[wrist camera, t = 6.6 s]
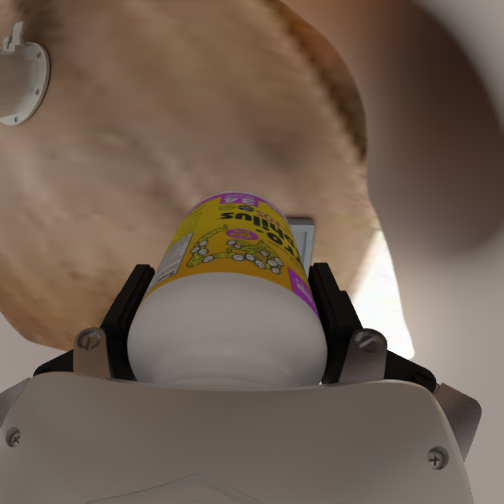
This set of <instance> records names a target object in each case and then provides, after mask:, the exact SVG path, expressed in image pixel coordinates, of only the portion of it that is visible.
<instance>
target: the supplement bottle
mask: <svg viewBox="0 0 504 504" xmlns="http://www.w3.org/2000/svg"><path fill="white" fill-rule="evenodd" d="M127 350H128V358H129V362H130V366H131V368H132V371H133V373H134V375H135V377H136V379H137V381H138V382H144V383H153V384H163V385H175V386H189V387H208V388H276V387H295V386H309V385H319V383H320V381H321V379H322V377H323V375H324V372H325V368H326V362H327V344H326V339H325V335H324V331H323V328H322V324H321V321H320V318H319V315H318V311H317V308H316V305H315V302H314V299H313V295H312V292H311V289H310V286H309V282H308V280H307V276H306V273H305V270H304V267H303V264H302V261H301V257H300V254H299V251H298V248H297V245H296V242H295V239H294V236H293V234H292V231H291V228H290V226H289V223H288V221H287V219H286V218H285V216H284V215H283V213H282V212H281V211H280V210H279V209H278V208H277V207H276V206H275V205H274V204H273V203H272V202H270V201H269V200H267V199H265V198H264V197H262V196H260V195H257V194H254V193H251V192H246V191H238V190H231V191H223V192H219V193H216V194H213V195H210V196H208V197H206V198H204V199H203V200H201V201H200V202H199V203H197V204H196V205H195V206H194V207H193V208H192V209H191V210H190V211H189V213H188V214H187V215H186V217H185V218H184V220H183V221H182V223H181V225H180V226H179V228H178V230H177V232H176V234H175V236H174V237H173V239H172V241H171V243H170V245H169V247H168V249H167V251H166V253H165V255H164V256H163V259H162V261H161V263H160V264H159V267H158V269H157V270H156V272H155V275H154V277H153V279H152V281H151V283H150V285H149V287H148V289H147V291H146V293H145V295H144V297H143V299H142V301H141V303H140V305H139V308H138V310H137V312H136V314H135V317H134V319H133V322H132V324H131V327H130V330H129V335H128V341H127Z"/></svg>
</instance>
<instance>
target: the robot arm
mask: <svg viewBox="0 0 504 504" xmlns="http://www.w3.org/2000/svg"><path fill="white" fill-rule="evenodd" d="M25 24H26V22H24V21H22V22H18V23H16V24H15V25H14V27H13V33H12V36H13V37H12V36H8V37H5V38H4V40H3V51H0V121H1V122H2V123H3V124H5V125H8V126H13V125H18V124H21V123H23V122H25V121H26V120H28V119H29V118H30V117H31V116H32V115H33V113H34V112H35V111H36V110H37V108H38V106H39V105H40V103H41V101H42V99H43V97H44V94H45V91H46V88H47V84H48V80H49V73H50V62H49V57H48V54H47V52H46V50H45V48H44V47H43V46H42V45H40V44H38V43H33V42H27V43H25V40H23V34H24V31H25ZM11 39H12V42H11ZM154 275H155V270H154V268H151V267H150V265H149V264H138V265H136V267H135V268H134V270H133V272H132V273H131V275H130V276H129V278H128V280H127V281H126V283H125V285H124V287H123V288H122V290H121V292H120V293H119V294H118V295H117V297H116V299H115V301H114V302H113V304H112V306H111V308H110V310H109V311H108V313H107V315H106V317H105V319H104V320H103V322H102V324H101V326H100V328H97V327H91V328H87V329H84V330H83V331H81V332H80V333H79V334H78V335H77V336H76V337H75V339H74V349H72V350H70V351H68V352H66V353H65V354H63V355H60V356H59V357H56V358H54V359H52V360H50V361H49V362H46V363H44V364H42V365H41V366H39V367H38V368H37V369H36V370H35V372H34V375H33V377H32V378H27V379H25V380H23V381H22V382H20V383H18V384H16V385H14V386H13V387H11V388H9V389H7V390H5V391H3V392H2V393H0V428H1V430H0V504H474V503H473V497H472V492H471V488H470V483H469V479H468V475H467V472H466V469H465V465H464V461H465V459H466V457H467V454H468V452H469V449H470V447H471V444H472V441H473V439H474V436H475V433H476V430H477V427H478V424H479V421H480V418H481V413H482V409H481V406H480V404H479V403H478V402H477V401H476V400H475V399H473V398H471V397H469V396H467V395H465V394H463V393H461V392H460V391H458V390H456V389H454V388H452V387H450V386H448V385H446V384H444V383H441V384H440V385H439V384H437V383H436V378H435V377H434V375H433V374H432V373H431V371H429V370H428V369H426V368H424V367H422V366H419V365H417V364H415V363H413V362H411V361H409V360H407V359H405V358H403V357H401V356H399V355H397V354H395V353H393V352H391V351H389V350H387V340H386V338H385V337H384V336H383V335H382V334H381V333H380V332H378V331H376V330H373V329H369V328H364V329H363V327H362V325H361V322H360V320H359V318H358V316H357V314H356V311H355V309H354V307H353V305H352V303H351V300H350V298H349V296H348V294H347V292H346V291H340V290H339V287H338V285H337V283H336V281H335V279H334V276H333V274H332V272H331V270H330V268H329V266H328V264H327V263H314V265H313V266H310V267H309V274H308V282H309V286H310V289H311V292H312V295H313V299H314V302H315V305H316V308H317V311H318V315H319V318H320V321H321V324H322V328H323V331H324V335H325V339H326V344H327V362H326V368H325V372H324V375H323V377H322V379H321V382H322V385H309V386H295V387H276V388H208V387H189V386H175V385H163V384H153V383H144V382H138V381H137V379H136V377H135V375H134V373H133V371H132V368H131V366H130V362H129V358H128V350H127V341H128V335H129V330H130V327H131V324H132V322H133V319H134V317H135V314H136V312H137V310H138V308H139V305H140V303H141V301H142V299H143V297H144V295H145V293H146V291H147V289H148V287H149V285H150V283H151V281H152V279H153V277H154Z"/></svg>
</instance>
